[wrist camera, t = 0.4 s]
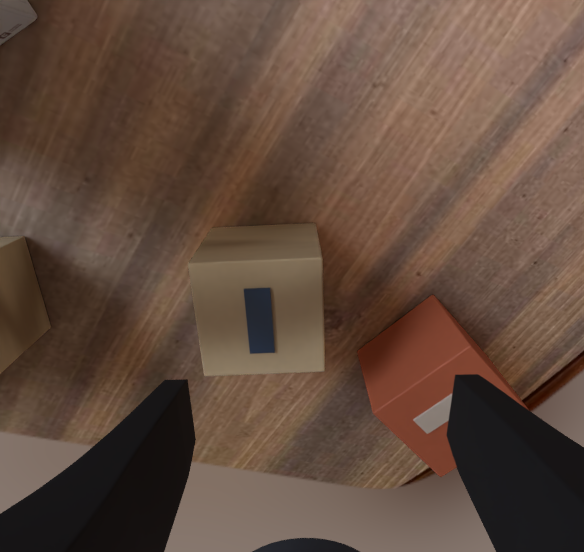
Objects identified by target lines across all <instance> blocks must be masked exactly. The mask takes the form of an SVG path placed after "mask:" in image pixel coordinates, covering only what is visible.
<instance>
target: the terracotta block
mask: <svg viewBox="0 0 584 552" xmlns="http://www.w3.org/2000/svg"><path fill="white" fill-rule="evenodd" d="M357 353H358V357H359V361H360V365H361V369H362V373H363V376H364V380H365V384H366V388H367V392H368V395H369V399H370V403H371V407H372V411H373V414H374V415H375V416H376V417H377V418H378V419H379V420H381V421H382V422H383V423H384V424H385V425H386V426H387V427H388V428H389V429H390V430H391V431H392V432H393V433H394V434H395V435H396V436H397V437H398V438H400V439H401V440H402V441H403V442H404V443H405V444H406V445H407V446H408V447H409V448H410V449H411V450H412V451H413V452H414V453H415V454H416V455H417V456H419V457H420V458H421V459H422V460H423V461H424V462H425V463H426V464H427V465H428V466H429V467H430V468H431V469H432V470H433V471H434V472H435V473H436V474H438V475H439V476H440V477H442V476H443V475H445V474H447V473H448V472H450V471H452V470H453V469H455V468H457V466H456V463H455V460H454V457H453V455H452V451H451V448H450V445H449V442H448V439H447V435H446V434H447V427H448V420H449V413H450V407H451V400H452V393H453V386H454V379H455V375H464V374H478V375H480V376H481V377H483V378H485V379H486V380H487V381H489V382H490V383H492V384H493V385H494V386H496V387H497V388H499V389H500V390H501V391H503V392H504V393H505V394H507V395H508V396H510V397H511V398H512V399H514V400H515V401H516V402H518V403H519V404H521V405H522V406H523V407H525V408H526V409H527V410H529V409H528V408H527V407H526V405H525V404H524V403H523V402H522V400H521V399H520V398H519V396H518V395H517V394H516V393H515V391H514V390H513V389H512V387H511V386H510V385H509V384H508V382H507V381H506V380H505V378H504V377H503V376H502V374H501V373H500V372H499V371H498V369H497V368H496V367H495V365H494V364H493V363H492V362H491V360H490V359H489V358H488V356H487V355H486V354H485V353H484V352H483V351H482V349H481V348H480V347H479V346H478V345H477V344H476V343H475V341H474V340H473V339H472V338H471V337H470V336H469V335H468V333H467V332H466V331H465V330H464V329H463V328H462V327H461V326H460V324H459V323H458V322H457V321H456V320H455V319H454V318H453V316H452V315H451V314H450V313H449V312H448V311H447V310H446V308H445V307H444V306H443V305H442V304H441V303H440V302H439V300H438V299H437V298H436V297H435V296H434V295H431V296H430V297H428V298H427V299H426V300H424V301H423V302H422V303H420V304H419V305H418V306H416V307H415V308H414V309H412V310H411V311H410V312H408V313H407V314H406V315H404V316H403V317H402V318H400V319H399V320H398V321H396V322H395V323H394V324H392V325H391V326H390V327H388V328H387V329H386V330H384V331H383V332H382V333H381V334H379V335H378V336H377V337H375V338H374V339H373V340H371V341H370V342H369V343H367V344H366V345H365V346H363V347H362V348H361V349H359V350H358V351H357Z"/></svg>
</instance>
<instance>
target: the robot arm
mask: <svg viewBox="0 0 584 552" xmlns="http://www.w3.org/2000/svg"><path fill="white" fill-rule="evenodd" d="M446 435H447V439H448V442H449V445H450V448H451V451H452V455H453V457H454V460H455V463H456V466H457V469H458V472H459V474H460V476H461V478H462V481H463V483H464V485H465V487H466V489H467V491H468V493H469V496H470V498H471V500H472V502H473V504H474V506H475V508H476V510H477V512H478V514H479V516H480V519H481V521H482V523H483V525H484V527H485V529H486V531H487V533H488V535H489V538H490V539H491V542H492V544H493V545H494V548H495V550H496V552H584V447H582V446H581V445H579V444H578V443H576V442H574V441H573V440H571V439H570V438H568V437H567V436H565V435H564V434H562V433H561V432H559V431H558V430H556V429H555V428H553V427H552V426H550V425H549V424H547V423H546V422H544V421H543V420H542V419H540V418H539V417H537V416H536V415H534V414H533V413H532V412H530V411H529V410H527V409H526V408H525V407H523V406H522V405H521V404H519V403H518V402H516V401H515V400H514V399H512V398H511V397H510V396H508V395H507V394H505V393H504V392H503V391H501V390H500V389H499V388H497V387H496V386H494V385H493V384H492V383H490V382H489V381H487V380H486V379H485V378H483V377H481V376H480V375H478V374H464V375H455V379H454V386H453V393H452V400H451V407H450V413H449V420H448V427H447V434H446ZM195 440H196V439H195V431H194V424H193V417H192V410H191V402H190V395H189V388H188V380H164V381H163V382H162V383H161V384H160V385H159V386H158V387H157V388H156V389H155V390H154V391H153V392H152V393H151V394H150V395H149V396H148V397H147V398H146V399H145V400H144V401H143V402H142V403H141V404H140V405H138V406H137V407H136V408H135V409H134V410H133V411H132V412H131V413H130V414H129V415H128V416H127V417H126V418H125V419H124V420H123V421H122V422H121V423H120V424H118V425H117V426H116V427H115V428H114V429H113V430H112V431H111V432H110V433H109V434H107V435H106V436H105V437H104V438H103V439H102V440H100V441H99V442H98V443H97V444H96V445H95V446H93V447H92V448H91V449H90V450H89V451H88V452H87V453H85V454H84V455H83V456H82V457H81V458H79V459H78V460H77V461H76V462H74V463H73V464H72V465H70V466H69V467H68V468H67V469H65V470H64V471H63V472H61V473H60V474H58V475H57V476H56V477H54V478H53V479H52V480H50V481H49V482H48V483H46V484H45V485H43V486H42V487H41V488H39V489H38V490H36V491H35V492H33V493H32V494H30V495H29V496H27V497H26V498H24V499H23V500H21V501H19V502H18V503H16V504H15V505H13V506H12V507H10V508H9V509H7V510H6V511H4V512H3V513H1V514H0V552H164V550H165V547H166V544H167V541H168V538H169V535H170V532H171V529H172V526H173V523H174V520H175V516H176V513H177V510H178V507H179V504H180V501H181V498H182V494H183V492H184V489H185V485H186V482H187V479H188V476H189V471H190V466H191V461H192V456H193V451H194V445H195Z"/></svg>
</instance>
